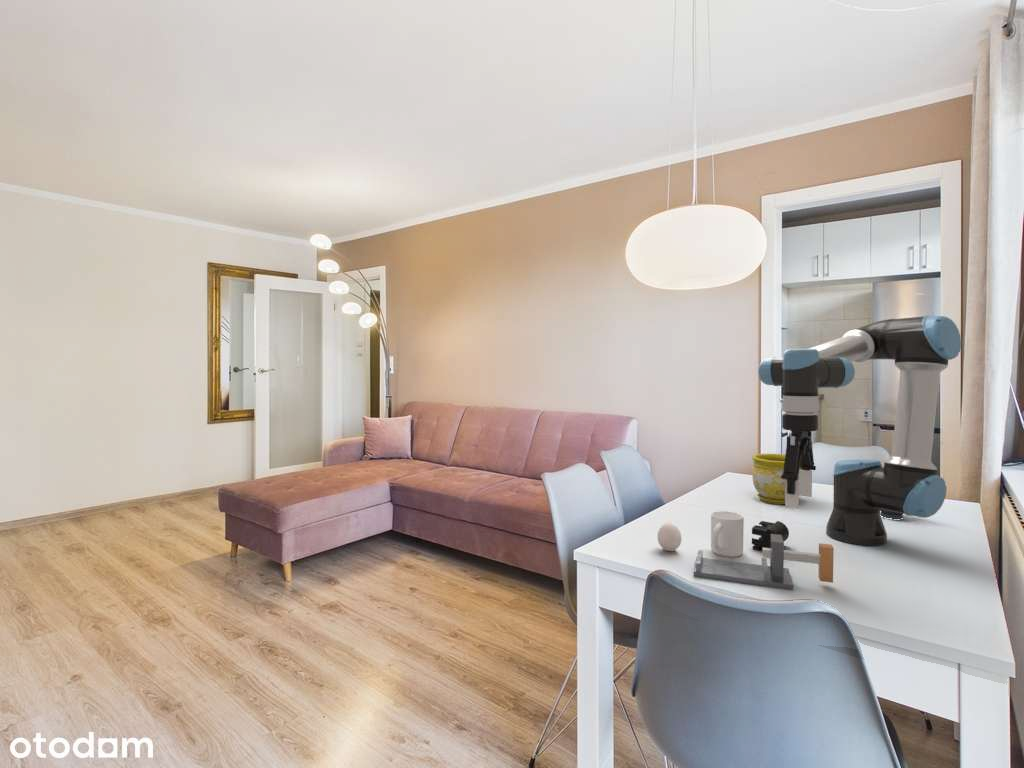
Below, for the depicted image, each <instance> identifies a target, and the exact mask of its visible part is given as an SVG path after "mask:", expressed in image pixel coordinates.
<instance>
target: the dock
mask: <svg viewBox="0 0 1024 768" xmlns="http://www.w3.org/2000/svg"><path fill="white" fill-rule="evenodd" d="M771 548H772V558H769V560H770V563H769V565H768V560H767V559H768V558H765V557H761V564H756V563H748V562H739V561H731V560H722V559H716V558H710V557H709V558H708V557H704V556H703V555H704V554H703V553H704V552H703V551H704V550H701V549H698V551H697V555H696V558H695V564H694V568H693V577H697V578H704V579H709V580H710V579H711V580H718V581H723V582H724V581H725V582H731V583H732V582H733V583H741V584H745V585H746V584H747V585H753V586H760V587H766V588H768V587H769V588H775V589H783V590H789V591H794V583H793V580H792V576H791V572H790V568H787V567H784V564H785V560H784V550H785V541H784V542H783V538H782V535H777V534H771Z"/></svg>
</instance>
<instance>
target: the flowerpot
mask: <svg viewBox="0 0 1024 768" xmlns="http://www.w3.org/2000/svg"><path fill="white" fill-rule="evenodd" d="M785 455H786V454H782V453H758V454H754V455H752V457H751V458H752V460H753V463H752V464H753V469H752V482H753V483H752V484H753V487H754V489H755V491H757V493H758V494H757V497H758V498H759V500H760V501H762V502H764V503H768V504H771V505H772V504H773V505H780V504H785V479H781V475H783V470H784V462H785ZM800 469H801V467H800ZM800 469H799V470H800ZM801 470H803V469H801ZM797 480H799V474H798V479H797ZM799 501H800V498H799Z"/></svg>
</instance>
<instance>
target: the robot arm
mask: <svg viewBox="0 0 1024 768" xmlns="http://www.w3.org/2000/svg"><path fill="white" fill-rule="evenodd" d="M961 349H962V338H961V333H960V330H959V328H958V326H957V324H956V323H955V322H954V320H952V318H949V317H947V316H944V315H925V316H915V317H914V316H913V317H904V318H889V319H888V318H887V319H883V320H879V321H875V322H872V323H869V324H866V325H862V326H861V327H860V326H859V327H858V328H855V329H851V330H849V331H847V332H846V333H845V334H844V335H843V336H842V337H839V338H836V339H834V340H833V339H832V340H830V341H827V342H824V343H821V344H818V345H815V346H812V347H810V348H791V349H790V348H788V349H786V350H785V351H784V352H783V354H782V355H783V356H782V357H775V356H773V357H770V358H769V357H767V358H764V359H763V360H762V361H761V362H760V364H759V366H758V372H757V373H758V377H759V380H760V381H761V382H762V384H765V385H767V386H773V387H778V386H779V387H782V398H781V399H779V402H780V403H781V404H782V412H784V413H783V414H782V415H781V418H782V419H781V428H782V429H783V430H785V431H791V433H790V435H787V436H786V448H785V454H784V455H785V462H784V470H783V475H781V479H785V505H784V507H785V508H789V509H790V508H791V509H795V510H798V509H799V508H800V506H799V504H800V502H799V501H800V500H799V499H800V497H806V498H812V495H813V489H812V488H813V471H816V469H817V467H816V465H815V459H814V452H813V443H812V435H813V433H812V432H815V431H818V429H819V416H818V415H817V414H816V413H818V412H819V389H821V388H823V389H825V388H826V389H827V388H835V389H838V388H840V387H842V388H843V387H846V386H848V385H849V384H851V383H852V382H853V380H854V378H855V373H856V371H855V367H854V364H853V362H856V363H862V362H866V361H869V360H870V361H871V360H894V366H895V367H897V369H898V370H899V382H898V393H897V402H896V403H897V404H896V411H895V412H896V413H895V422H894V430H893V441H892V450H891V452H892V453H891V456H890V457H889V458H887V459H885V460H884V463H883V465H882V461H881V460H877V459H845V460H839V461H837V462H836V463H835V464H834V468H833V474H832V477H833V508H832V512H831V514H830V515H829V519H828V521H827V523H826V527H825V528H826V531H825V532H826V535H827V536H828V537H829V538H832V539H835V540H837V541H840V542H843V543H848V544H853V545H858V546H859V545H860V546H883V545H886V544H887V542H888V533H887V530H886V528H885V525H884V522H883V518H882V517H881V516H880V513H881V511H880V508H881V509H885V510H890V511H894V512H898V513H903V514H902V515H906V516H908V517H916V518H924V519H925V518H930V517H933V516H934V515H936V513H938V511H939V510H941V508H942V506H943V504H944V503H945V500H946V495H947V485H946V480H944V478H943V477H941V476H940V475H938V468H937V467H936V466H935V464H933V462H932V454H933V453H932V452H933V445H934V444H933V443H934V433H935V424H936V414H937V413H936V412H937V404H938V394H939V385H940V382H939V381H940V375H941V373H942V372H943V371H944V370H946V369H947V368H948V367H949V361H950V360H953V359H956V358H957V357H958V356H959V353H960V352H961ZM800 467H801V469H803V470H801V469H800ZM799 469H800V470H799ZM798 474H799V480H797V479H798Z"/></svg>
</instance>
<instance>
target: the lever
mask: <svg viewBox="0 0 1024 768" xmlns="http://www.w3.org/2000/svg"><path fill="white" fill-rule="evenodd" d="M834 551H835V550H834V546H833V544H830V543H829V544H828V543H820V542H819V543H818V553H816V552H815V553H813V552H806V551H805V552H804V551H796V550H787V549H784V561H792V562H799V563H805V564H807V563H808V564H815V565H818V573H817V574H818V580H819V581H820V582H825V583H826V582H827V583H834ZM761 552H762V553H761V554H762V558H766V559H770V558H772V548H763V551H761Z"/></svg>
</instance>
